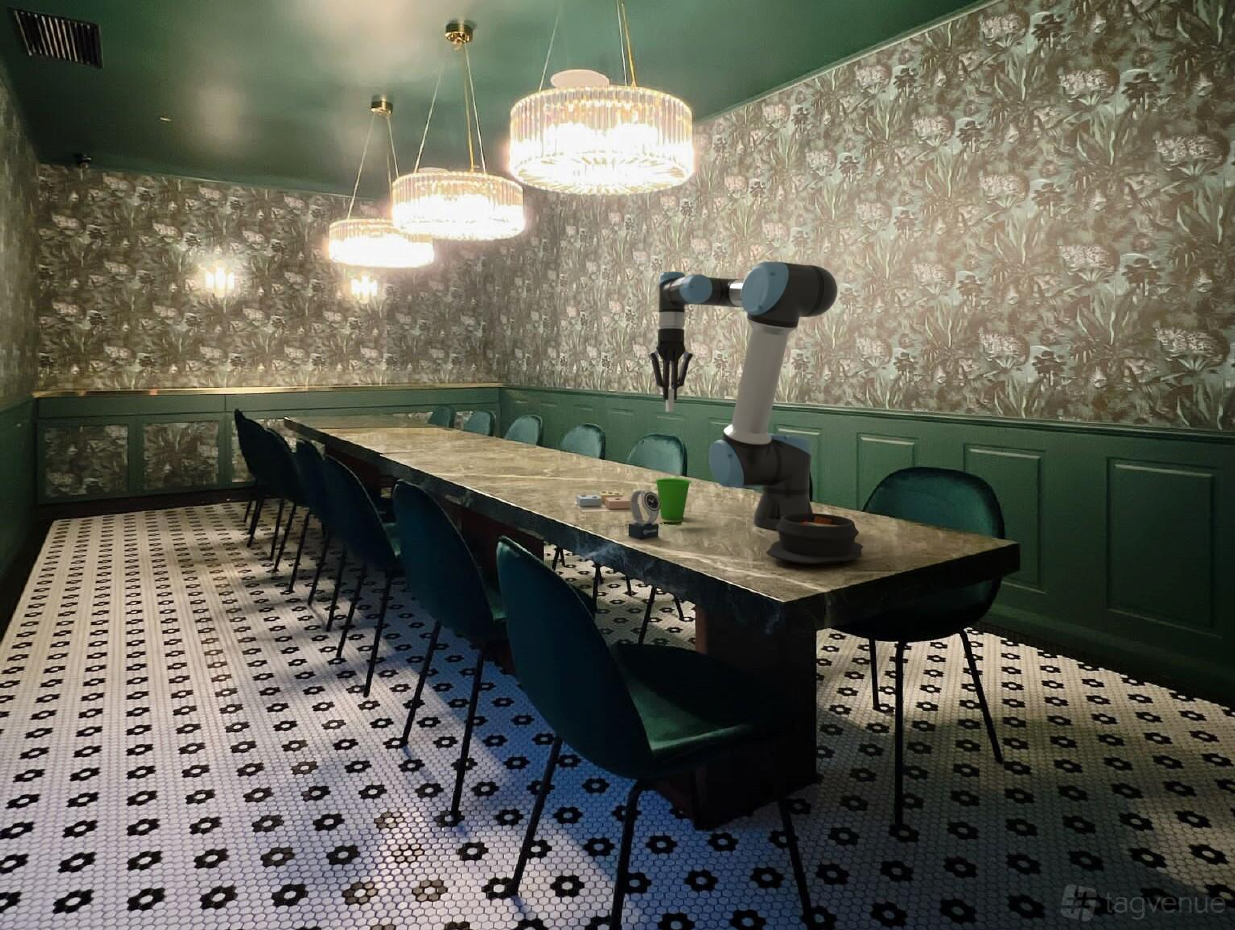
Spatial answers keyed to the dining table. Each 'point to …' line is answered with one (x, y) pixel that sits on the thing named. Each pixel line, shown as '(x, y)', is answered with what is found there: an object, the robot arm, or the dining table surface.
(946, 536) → the dining table surface
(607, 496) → the tile three
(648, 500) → the watch
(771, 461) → the robot arm
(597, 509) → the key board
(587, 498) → the tile two
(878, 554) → the dining table surface
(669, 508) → the cup
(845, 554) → the casserole
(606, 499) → the tile one
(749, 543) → the dining table surface
